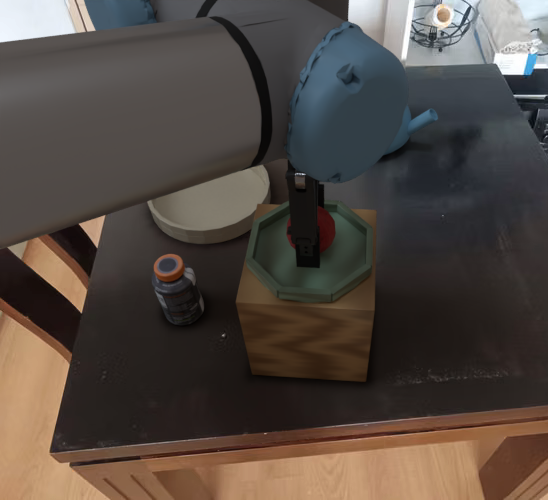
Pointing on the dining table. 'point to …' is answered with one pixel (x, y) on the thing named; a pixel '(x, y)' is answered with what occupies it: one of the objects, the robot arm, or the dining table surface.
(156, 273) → the pill bottle
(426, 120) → the teapot
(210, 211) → the cream bowl
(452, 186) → the dining table surface
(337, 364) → the stand
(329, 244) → the onion
